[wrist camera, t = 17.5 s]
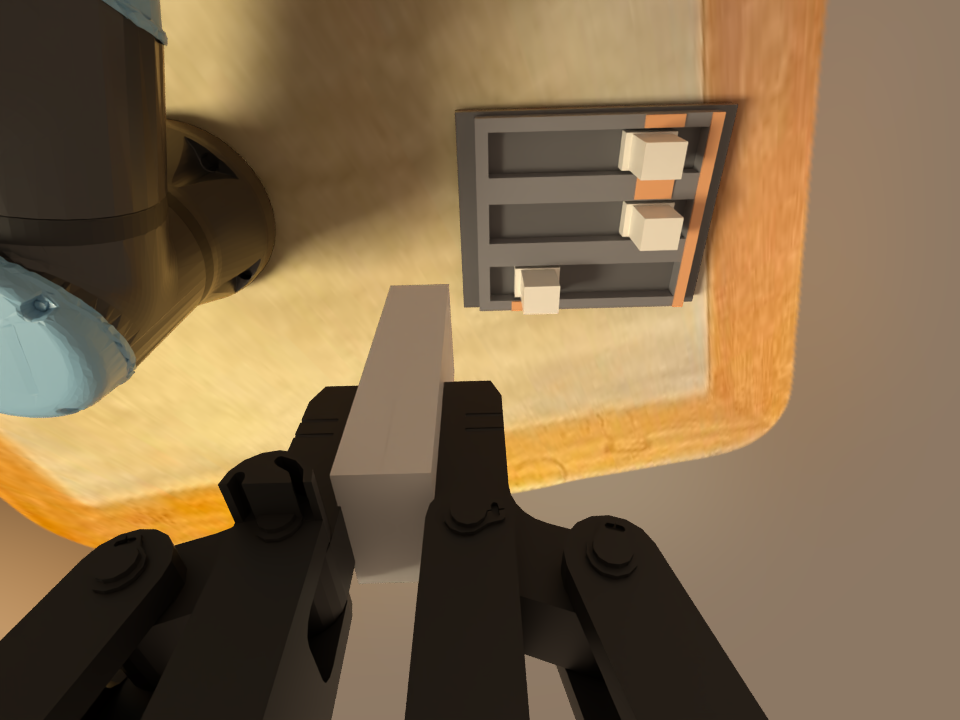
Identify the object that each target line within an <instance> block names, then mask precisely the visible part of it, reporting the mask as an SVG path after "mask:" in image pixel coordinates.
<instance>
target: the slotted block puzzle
mask: <svg viewBox="0 0 960 720" xmlns="http://www.w3.org/2000/svg"><path fill="white" fill-rule="evenodd" d="M737 108H738V104H735V103H702V104H666V105H631V106H595V107H559V108H523V109H487V110H455V122H456V143H457V165H458V187H459V208H460V230H461V251H462V273H463V295H464V307H480V311H502V310H512V311H522V310H523V308H522V303H521V297H515V295H514V266H543V265H559V266H560V276H559V284H560V298H559V309H577V308H614V307H651V306H672V307H682V306H683V302H686V301H692V299H693V295H694V290H695V286H696V282H697V278H698V273H699V269H700V265H701V261H702V256H703V252H704V248H705V244H706V239H707V235H708V231H709V227H710V222H711V218H712V214H713V210H714V206H715V201H716V197H717V193H718V189H719V184H720V180H721V176H722V172H723V167H724V163H725V159H726V155H727V150H728V146H729V142H730V138H731V133H732V129H733V125H734V121H735V116H736V112H737ZM652 129H674V130H676V131H678V137H680V138H682V139H684V140H686V141H688V146H687V151H686V157H685V162H684V167H683V172H682V177H681V179H676V180H640V179H638V178H637V177H636V176H635V175H634V174H633V173H632V172H631V171H621V170H620V169H619V168H618V163H619V155H620V147H621V139H622V131H623V130H652ZM645 200H672V201H673V202H674V203H675V205H674V210H676V211H677V212H678V213H679V214H680V215H681V216H682V217H684V220H683V225H682V230H681V234H680V239H679V244H678V249H677V250H656V251H640V250H639V249H638V248H637V246H636V245H635V244H634V242H633V241H632V240H631V239H630V237H622V236H621V234H620V233H619V227H620V220H621V213H622V205H623V201H645Z"/></svg>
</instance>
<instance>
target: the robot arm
mask: <svg viewBox="0 0 960 720" xmlns="http://www.w3.org/2000/svg"><path fill="white" fill-rule="evenodd" d="M164 45H167V36H166V33H165V32H164V31H163V30H162V22H161V10H160V0H0V413H2V414H7V415H13V416H20V417H30V418H49V417H59V416H65V415H70V414H74V413H77V412H79V411H80V410H84V409H86V408H88V407H90V406H92V405H94V404H95V403H97V402H98V401H100V400H101V399H102V398H103V397H104V396H106V395H107V394H108V393H109V392H111V391H112V390H113V389H115V388H116V387H117V386H118V385H120V384H123V383H125V382H126V381H127V380H129V379H130V377H131V376H132V374H134V373H135V372H134V370H135V369H136V367H137V366H138V365H139V364H140V363H141V362H142V361H143V360H144V359H145V358H146V357H147V356H148V355H149V354H150V353H151V352H152V351H153V350H154V349H155V348H156V347H157V346H158V345H159V344H160V343H161V342H162V341H163V340H164V339H165V338H166V337H167V336H168V335H169V334H170V333H171V332H172V331H173V330H174V329H175V328H176V327H177V326H178V325H179V324H180V323H181V322H182V321H183V320H184V319H185V318H186V317H187V316H188V315H189V314H190V313H191V312H192V311H193V310H194V309H195V308H196V307H197V306H198V305H201V304H205V303H208V302H211V301H215V300H218V299H222V298H225V297H228V296H231V295H233V294H235V293H237V292H238V291H240V290H242V289H243V288H245V287H246V286H247V285H249V284H250V283H251V282H252V281H253V280H254V279H255V278H256V276H257V275H258V274H259V273H260V272H261V271H262V270H263V268H264V267H265V265H266V264H267V262H268V260H269V258H270V256H271V253H272V250H273V247H274V242H275V221H274V215H273V210H272V207H271V204H270V201H269V198H268V196H267V194H266V191H265V190H264V188H263V186H262V184H261V182H260V181H259V179H258V177H257V176H256V175H255V173H254V172H253V170H252V169H251V168H250V167H249V165H248V164H247V163H246V162H245V161H244V160H243V159H242V158H241V157H240V156H239V155H238V154H237V153H236V152H235V151H234V150H233V149H232V148H230V147H229V146H228V145H227V144H225V143H224V142H223V141H221V140H220V139H218V138H217V137H215V136H213V135H212V134H210V133H208V132H206V131H204V130H202V129H200V128H198V127H195V126H193V125H190V124H187V123H184V122H180V121H176V120H170V119H166V106H165V69H164ZM295 435H296V436H295V438H293V440H292V443H291V445H290V447H289V450H288V451H281V450H278V451H272V452H266V453H261V454H259V455H256V456H254V457H251V458H249V459H246V460H244V461H243V462H241V463H240V464H238V465H237V466H235V467H234V468H233V469H231V470H230V471H228V473H227V474H226V475H225V476H224V478H223V479H222V480H221V481H220V483H219V484H218V486H219V488H220V490H221V493H222V495H223V497H224V499H225V501H226V504H227V506H228V508H229V510H230V512H231V515H232V517H233V519H234V521H235V524H234V526H233V527H232V528H230V529H227V530H224V531H222V532H219V533H216V534H213V535H209V536H206V537H203V538H199V539H196V540H192V541H189V542H185V543H182V544H178V545H175V546H174V544H173V543H172V541H171V539H170V537H169V536H168V535H167V534H165V533H163V532H161V531H158V530H156V529H139V530H135V531H132V532H128V533H124V534H121V535H118V536H117V537H115V538H113V539H111V540H109V541H107V542H105V543H103V544H101V545H99V546H98V547H97V548H96V549H95V550H93V551H92V552H91V553H90V554H88V555H87V556H86V557H85V558H83V559H82V560H81V561H80V562H79V563H78V564H77V565H76V566H75V567H74V568H73V569H72V570H71V571H70V572H69V573H68V574H67V575H66V576H65V577H64V578H63V579H62V580H61V581H60V582H59V583H58V584H57V585H56V586H55V587H54V588H53V589H52V590H51V591H50V592H49V593H48V594H47V595H46V596H45V597H44V598H43V599H42V600H41V601H40V602H39V603H38V604H37V605H36V606H35V607H34V608H33V609H32V610H31V611H30V612H29V613H28V614H27V615H26V616H25V617H24V618H23V619H22V620H21V621H20V622H19V623H18V624H17V625H16V626H15V627H14V628H13V629H12V630H11V631H10V632H9V633H8V634H7V635H6V636H5V637H4V638H3V639H2V640H1V641H0V720H331V718H332V713H333V708H334V704H335V699H336V694H337V689H338V684H339V679H340V674H341V669H342V664H343V659H344V654H345V649H346V644H347V639H348V635H349V630H350V624H351V620H352V601H351V598H350V595H349V589H350V584H351V580H352V575H353V570H354V568H355V572H356V575H357V579H358V583H359V584H364V583H402V582H403V583H404V582H419V583H418V593H417V603H416V612H415V623H414V633H413V642H412V652H411V662H410V672H409V682H408V693H407V702H406V712H405V720H530V718H529V706H528V694H527V682H526V669H525V656H524V654H526V655H529V656H532V657H535V658H538V659H540V660H543V661H546V662H549V663H552V664H555V665H556V666H557V669H558V672H559V674H560V677H561V680H562V683H563V685H564V688H565V691H566V694H567V696H568V699H569V702H570V705H571V708H572V710H573V713H574V715H575V719H576V720H768V718H767V717H766V715H765V714H764V712H763V711H762V709H761V707H760V706H759V704H758V703H757V701H756V700H755V698H754V696H753V695H752V693H751V692H750V691H749V689H748V687H747V686H746V684H745V683H744V681H743V679H742V678H741V676H740V675H739V673H738V672H737V670H736V668H735V667H734V665H733V664H732V662H731V661H730V659H729V658H728V656H727V654H726V653H725V652H724V650H723V648H722V647H721V645H720V644H719V642H718V640H717V639H716V637H715V636H714V634H713V633H712V631H711V629H710V628H709V626H708V625H707V623H706V622H705V620H704V619H703V617H702V615H701V614H700V612H699V611H698V609H697V608H696V606H695V605H694V603H693V601H692V600H691V598H690V597H689V595H688V594H687V592H686V591H685V589H684V587H683V586H682V584H681V583H680V581H679V580H678V578H677V577H676V575H675V574H674V572H673V570H672V569H671V567H670V566H669V564H668V563H667V561H666V560H665V558H664V556H663V555H662V553H661V552H660V550H659V549H658V547H657V546H656V544H655V543H654V542H653V541H652V540H651V538H650V537H649V536H648V535H647V534H646V533H645V532H644V530H643V529H641V528H639V527H637V526H636V525H634V524H633V523H631V522H629V521H627V520H625V519H621V518H617V517H613V516H609V515H605V516H591V517H589V518H586V519H584V520H582V521H580V522H577V523H576V524H575V525H574V526H573V528H572V529H568V528H564V527H560V526H556V525H552V524H549V523H546V522H543V521H540V520H537V519H535V518H533V517H532V516H530V515H529V514H527V513H525V512H524V511H523V510H522V509H521V508H520V507H519V506H518V505H517V504H516V502H515V501H514V499H513V497H512V496H511V493H510V489H509V485H508V473H507V460H506V447H505V435H504V422H503V410H502V397H501V394H500V393H499V391H498V390H497V389H496V387H495V386H494V385H493V383H492V382H491V381H459V382H454V360H453V344H452V328H451V313H450V297H449V284H435V285H398V286H390V289H389V292H388V296H387V299H386V302H385V305H384V308H383V311H382V314H381V317H380V320H379V323H378V327H377V330H376V333H375V336H374V339H373V342H372V345H371V348H370V351H369V355H368V358H367V361H366V364H365V367H364V370H363V373H362V376H361V379H360V382H359V386H330V387H325V388H324V389H323V390H322V391H321V392H320V393H318V394H317V395H316V396H315V397H314V398H313V399H312V400H311V401H310V402H309V404H308V406H307V409H306V411H305V413H304V415H303V418H302V423H300V425H299V427H298V429H297V431H296V434H295Z"/></svg>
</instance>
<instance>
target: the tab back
mask: <svg viewBox="0 0 960 720" xmlns="http://www.w3.org/2000/svg"><path fill="white" fill-rule="evenodd" d="M559 276H560V266H559V265H543V266H514V295H515V297H521V303H522V308H523V314H524V315H526V314H558V312H559V298H560V284H559Z"/></svg>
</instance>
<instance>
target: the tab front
mask: <svg viewBox="0 0 960 720" xmlns="http://www.w3.org/2000/svg"><path fill="white" fill-rule="evenodd" d="M687 146H688V141H686V140H684V139H682V138H680V137H678V131H676V130H674V129H652V130H623V131H622V139H621V147H620V155H619V163H618V168H619V169H620V170H621V171H631V172H632V173H633V174H634V175H635V176H636V177H637V178H638V179H640V180H676V179H681V177H682V172H683V167H684V162H685V157H686V151H687Z"/></svg>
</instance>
